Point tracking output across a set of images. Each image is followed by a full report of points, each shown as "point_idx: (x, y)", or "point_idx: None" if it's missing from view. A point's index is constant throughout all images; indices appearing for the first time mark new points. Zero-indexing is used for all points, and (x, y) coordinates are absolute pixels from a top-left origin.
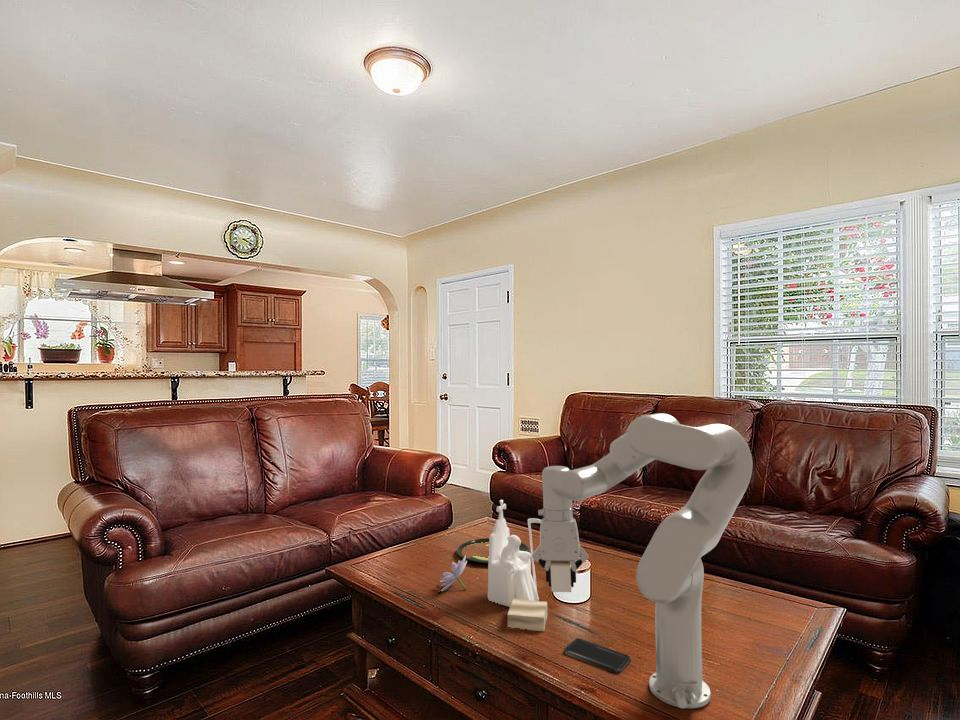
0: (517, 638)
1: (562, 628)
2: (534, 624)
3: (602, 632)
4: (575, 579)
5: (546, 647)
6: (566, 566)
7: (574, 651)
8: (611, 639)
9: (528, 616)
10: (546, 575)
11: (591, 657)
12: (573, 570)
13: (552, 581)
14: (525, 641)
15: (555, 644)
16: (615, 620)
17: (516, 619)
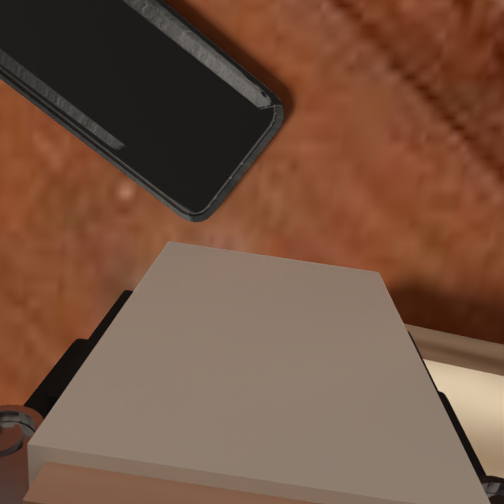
0: (499, 251)
1: None
2: None
3: (81, 293)
4: (71, 353)
5: (366, 163)
6: (117, 445)
7: (232, 100)
8: (46, 232)
9: (444, 363)
10: (462, 439)
11: (152, 39)
12: (30, 425)
13: (385, 325)
14: (463, 222)
15: (315, 191)
16: (18, 388)
17: (502, 365)
